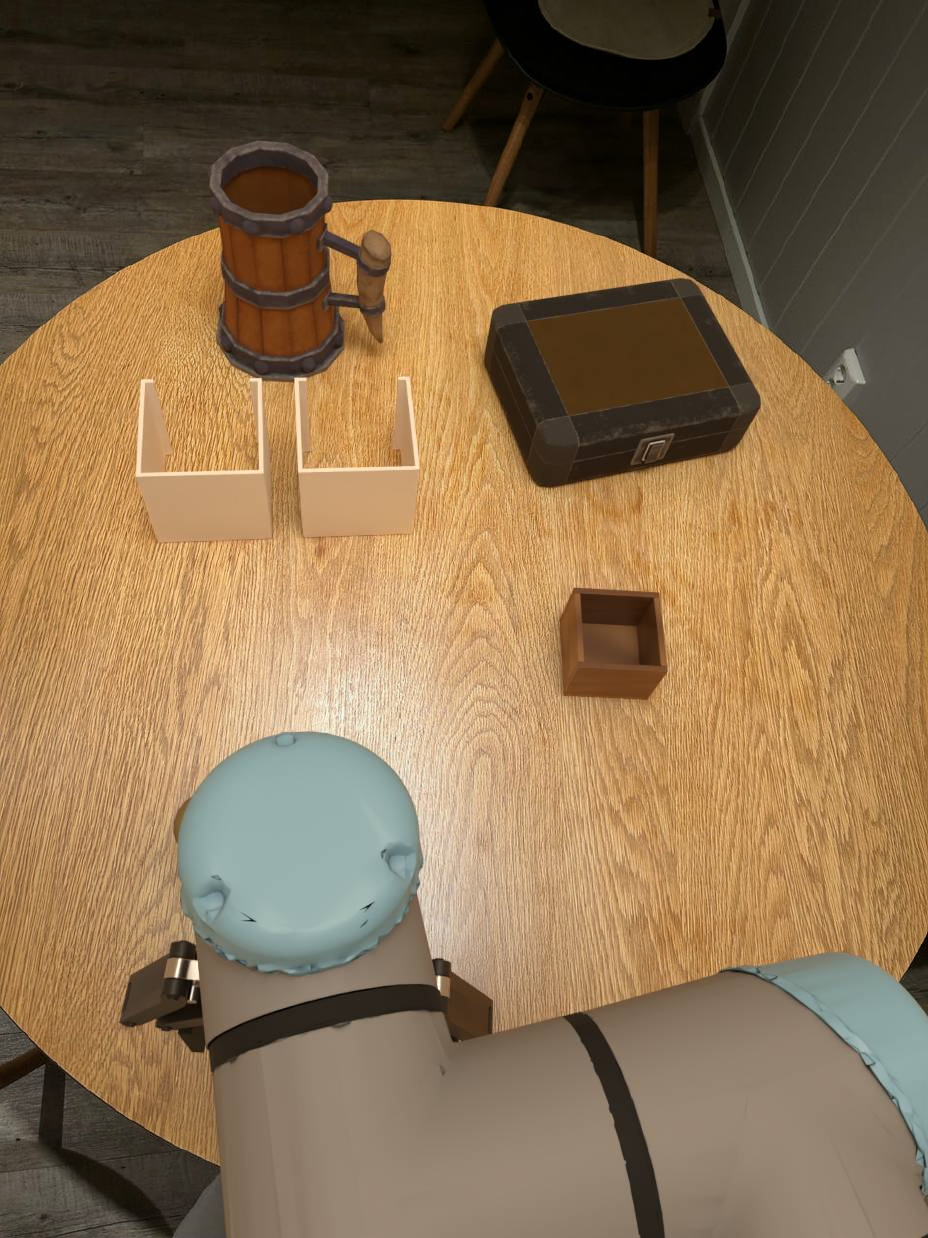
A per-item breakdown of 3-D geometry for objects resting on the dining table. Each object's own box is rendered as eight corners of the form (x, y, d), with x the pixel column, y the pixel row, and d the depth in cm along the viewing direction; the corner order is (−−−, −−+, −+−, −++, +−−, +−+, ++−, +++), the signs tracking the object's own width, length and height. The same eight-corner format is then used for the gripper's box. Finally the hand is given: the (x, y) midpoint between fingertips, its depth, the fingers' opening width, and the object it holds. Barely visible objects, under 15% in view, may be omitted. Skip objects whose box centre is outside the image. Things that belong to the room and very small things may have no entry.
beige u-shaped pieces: (157, 542, 92) (135, 476, 82) (161, 451, 97) (140, 379, 87) (412, 533, 95) (419, 469, 86) (403, 446, 100) (409, 376, 91)
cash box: (537, 496, 99) (551, 452, 92) (478, 353, 108) (487, 303, 101) (744, 454, 105) (772, 409, 98) (673, 322, 113) (694, 272, 107)
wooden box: (647, 699, 90) (668, 672, 84) (563, 695, 89) (578, 667, 83) (640, 623, 94) (659, 592, 88) (559, 618, 93) (573, 587, 87)
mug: (402, 315, 109) (413, 162, 91) (368, 408, 102) (373, 263, 84) (241, 273, 109) (221, 113, 91) (196, 363, 102) (166, 209, 85)
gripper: (586, 888, 44) (511, 987, 61) (37, 844, 42) (123, 959, 59) (592, 1064, 40) (510, 1116, 57) (-17, 1025, 38) (92, 1090, 55)
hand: (313, 1036), depth 58 cm, fingers open, 13 cm apart
